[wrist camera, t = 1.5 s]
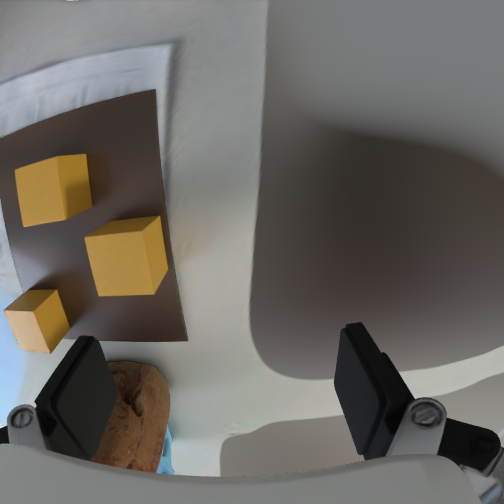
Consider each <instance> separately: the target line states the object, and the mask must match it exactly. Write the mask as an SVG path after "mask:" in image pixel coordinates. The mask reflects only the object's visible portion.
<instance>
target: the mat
mask: <svg viewBox="0 0 504 504" xmlns="http://www.w3.org/2000/svg"><path fill="white" fill-rule="evenodd" d="M76 154H86V157H87V167H88V176H89V184H90V192H91V199H92V205H93V207H92V208H90V209H88V210H85V211H83V212H81V213H79V214H77V215H75V216H72V217H70V218H68V219H66V220H62V221H56V222H50V223H44V224H38V225H33V226H27V227H23V222H22V217H21V211H20V205H19V199H18V192H17V185H16V177H15V169H18V168H21V167H24V166H27V165H30V164H33V163H36V162H39V161H42V160H45V159H49V158H52V157H56V156H64V155H76ZM0 199H1V205H2V211H3V217H4V222H5V227H6V232H7V236H8V241H9V245H10V249H11V253H12V257H13V261H14V264H15V268H16V271H17V275H18V278H19V281H20V284H21V288H22V291H23V293H25V292H26V291H27V290H57V291H58V294H59V297H60V301H61V304H62V307H63V309H64V312H65V315H66V318H67V321H68V323H69V326H70V330H69V331H68V332H67V334H66V335H65V336H64V337H63V339H78V337H79V336H81V335H86V336H94V337H95V339H96V340H98V341H127V342H178V341H188V336H187V332H186V327H185V322H184V317H183V312H182V307H181V302H180V297H179V291H178V286H177V280H176V274H175V269H174V263H173V256H172V250H171V243H170V237H169V230H168V222H167V215H166V207H165V199H164V190H163V181H162V172H161V161H160V150H159V138H158V123H157V106H156V90H155V89H154V90H149V91H144V92H139V93H134V94H130V95H125V96H121V97H117V98H113V99H109V100H105V101H102V102H98V103H95V104H91V105H88V106H84V107H81V108H78V109H75V110H72V111H69V112H66V113H63V114H60V115H57V116H54V117H51V118H49V119H46V120H43V121H41V122H38V123H35V124H33V125H31V126H28V127H26V128H23V129H21V130H19V131H16V132H14V133H12V134H10V135H7V136H5V137H3V138H1V139H0ZM152 216H160V219H161V226H162V233H163V240H164V246H165V253H166V259H167V264H168V271H167V273H166V274H165V276H164V278H163V280H162V281H161V283H160V285H159V287H158V289H157V290H156V292H155V294H150V295H124V296H99V295H98V292H97V288H96V284H95V281H94V277H93V273H92V269H91V265H90V261H89V256H88V252H87V247H86V243H85V238H84V237H85V236H87V235H88V234H90V233H92V232H93V231H95V230H97V229H98V228H100V227H101V226H103V225H105V224H106V223H108V222H110V221H117V220H126V219H134V218H143V217H152Z"/></svg>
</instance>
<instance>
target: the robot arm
mask: <svg viewBox="0 0 504 504" xmlns="http://www.w3.org/2000/svg"><path fill="white" fill-rule="evenodd" d="M68 1H78V0H68ZM334 387H335V391H336V393H337V396H338V399H339V402H340V404H341V407H342V410H343V413H344V415H345V418H346V421H347V424H348V427H349V430H350V432H351V435H352V438H353V441H354V444H355V447H356V450H357V453H358V454H359V455H363V456H364V459H365V461H361V462H355V463H350V464H345V465H340V466H335V467H329V468H323V469H317V470H310V471H302V472H294V473H286V474H275V475H262V476H242V477H204V476H183V475H171V474H160V473H152V472H144V471H137V470H130V469H124V468H119V467H113V466H108V465H103V464H99V463H94V462H90V461H91V458H92V457H94V456H95V455H96V452H97V450H98V447H99V444H100V441H101V439H102V436H103V434H104V431H105V428H106V426H107V423H108V421H109V418H110V416H111V413H112V411H113V408H114V406H115V403H116V401H117V398H118V396H119V389H118V386H117V384H116V382H115V380H114V377H113V375H112V373H111V370H110V368H109V366H108V363H107V361H106V358H105V356H104V353H103V351H102V348H101V345H100V343H99V341H98V340H96V339H95V337H94V336H86V335H81V336H79V337H78V339H77V340H76V341H75V343H74V344H73V345H72V347H71V348H70V349H69V351H68V352H67V354H66V355H65V357H64V358H63V359H62V361H61V362H60V364H59V365H58V366H57V368H56V369H55V371H54V372H53V374H52V375H51V377H50V378H49V380H48V381H47V383H46V384H45V386H44V387H43V389H42V390H41V392H40V393H39V395H38V396H37V398H36V400H35V401H34V402H35V403H36V405H37V406H36V408H34V407H33V406H31V405H26V404H24V405H19V406H17V407H15V408H14V409H13V410H12V411H11V412H10V413H9V415H8V418H7V426H5V427H3V428H0V504H504V448H503V447H501V443H500V439H499V437H498V436H497V434H496V433H494V432H493V431H492V430H489V429H486V428H482V427H478V426H474V425H471V424H467V423H463V422H460V421H456V420H453V419H450V418H447V412H446V409H445V407H444V406H443V405H442V404H441V403H440V402H438V401H437V400H435V399H432V398H427V397H423V398H418V399H414V397H413V395H412V394H411V392H410V390H409V389H408V387H407V385H406V384H405V382H404V381H403V379H402V377H401V376H400V374H399V373H398V371H397V370H396V368H395V366H394V365H393V363H392V361H391V360H390V358H389V357H388V355H387V354H386V353H384V352H383V353H381V352H380V350H379V349H378V347H377V345H376V344H375V342H374V341H373V339H372V337H371V336H370V334H369V333H368V331H367V330H366V328H365V327H364V325H363V324H362V323H361V322H358V323H352V324H347V325H346V326H345V328H344V329H341V333H340V341H339V349H338V357H337V364H336V372H335V378H334Z"/></svg>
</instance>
